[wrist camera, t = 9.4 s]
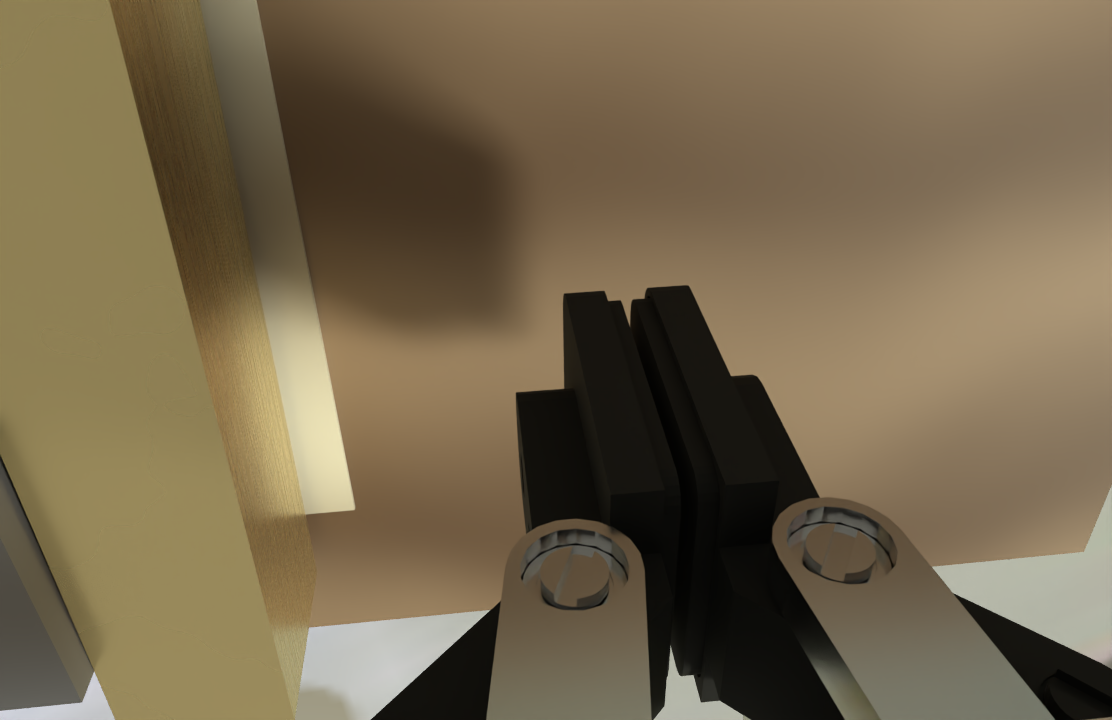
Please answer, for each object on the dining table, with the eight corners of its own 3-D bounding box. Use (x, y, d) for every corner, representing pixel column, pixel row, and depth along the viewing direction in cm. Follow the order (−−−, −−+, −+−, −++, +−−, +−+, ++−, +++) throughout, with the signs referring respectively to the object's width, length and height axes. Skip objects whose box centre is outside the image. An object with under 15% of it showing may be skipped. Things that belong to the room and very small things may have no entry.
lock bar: (-360, -867, 7) (-1077, -1429, 4) (71, -844, 7) (-237, -1347, 4) (151, 584, 16) (74, 802, 13) (337, 570, 16) (310, 779, 13)
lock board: (-472, -864, 8) (-1781, -1764, 3) (1490, -820, 10) (2542, -1405, 5) (117, 571, 19) (1, 860, 14) (1031, 487, 20) (1222, 721, 15)
